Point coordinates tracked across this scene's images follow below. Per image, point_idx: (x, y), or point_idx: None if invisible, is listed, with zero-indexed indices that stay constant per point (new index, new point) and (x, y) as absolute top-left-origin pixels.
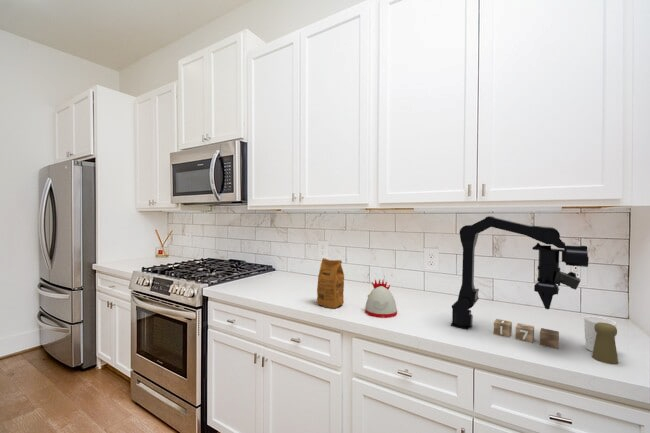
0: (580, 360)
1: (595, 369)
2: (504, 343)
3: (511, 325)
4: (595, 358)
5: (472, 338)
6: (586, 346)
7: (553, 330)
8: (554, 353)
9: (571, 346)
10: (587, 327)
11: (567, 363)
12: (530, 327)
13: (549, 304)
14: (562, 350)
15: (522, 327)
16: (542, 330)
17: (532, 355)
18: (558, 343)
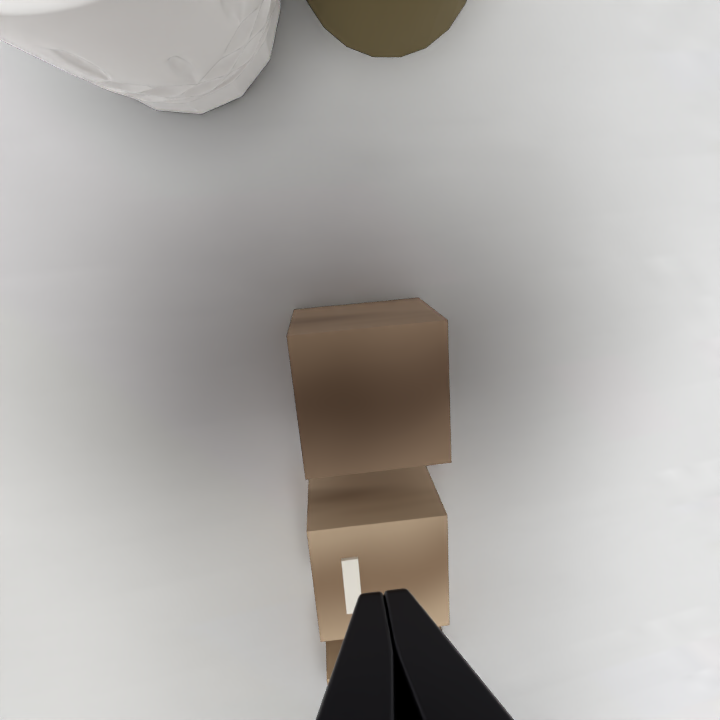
0: (551, 133)
1: (670, 24)
2: (558, 570)
3: (339, 650)
4: (451, 24)
5: (596, 702)
6: (216, 102)
7: (297, 382)
8: (529, 305)
9: (264, 221)
10: (211, 8)
11: (670, 208)
12: (371, 545)
13: (467, 679)
14: (421, 267)
15: (426, 587)
16: (382, 456)
17: (661, 406)
18: (354, 308)
